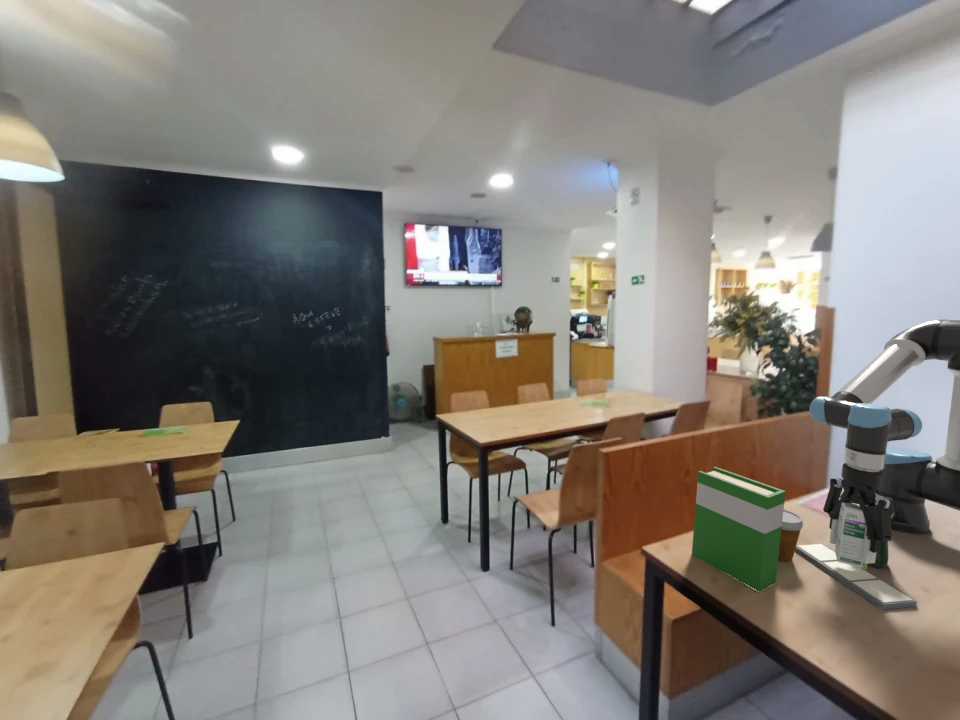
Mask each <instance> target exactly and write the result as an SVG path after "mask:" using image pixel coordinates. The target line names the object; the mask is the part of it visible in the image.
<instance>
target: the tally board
mask: <svg viewBox="0 0 960 720" xmlns="http://www.w3.org/2000/svg"><path fill="white" fill-rule="evenodd" d="M794 552H796V553H797V554H799V555H801V556H802V557H804V558H805V559H806V560H808V561H809V560H810V562H811V563H812V562H813V564H814V563H815V564H816V566H817V567H818V566H819V568H820V567H821V568H822V571H824V570H825V571H824V572H826V573H827V574H829V575H830V576H832V577H833V578H835V579H836V580H837V581H839V582H841V583H842V584H844V585H845V586H847V587H848V588H850V589H851V590H852V591H854V592H855V593H857V594H859V595H860V596H861V597H863V598H865V599H866V600H867V601H868V602H871V603H872V604H873V605H875V606H876V607H877V608H879V609H881V610H889V609H890V610H891V609H899V608H912V607H917V604H918V600H915V599H914V598H912V597H911V596H909V595H907V594H906V593H904V592H902V591H901V590H899V589H897V588H896V587H894V586H893V585H891V584H889V583H888V582H886V581H884V580H882V579H881V578H879V577H877V576H876V575H874V574H873V573H871V572H870V571H868V570H867V569H863V568H860V567H856V566H853V565H849V564H845V563H840V562H838V561H837V557H836V554H835V550H834V549H831V548H830V547H828V546H827V545H825V544H823V543H812V544H799V545H797V544H796V548H795V551H794ZM815 564H814V565H815ZM821 568H820V569H821Z"/></svg>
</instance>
